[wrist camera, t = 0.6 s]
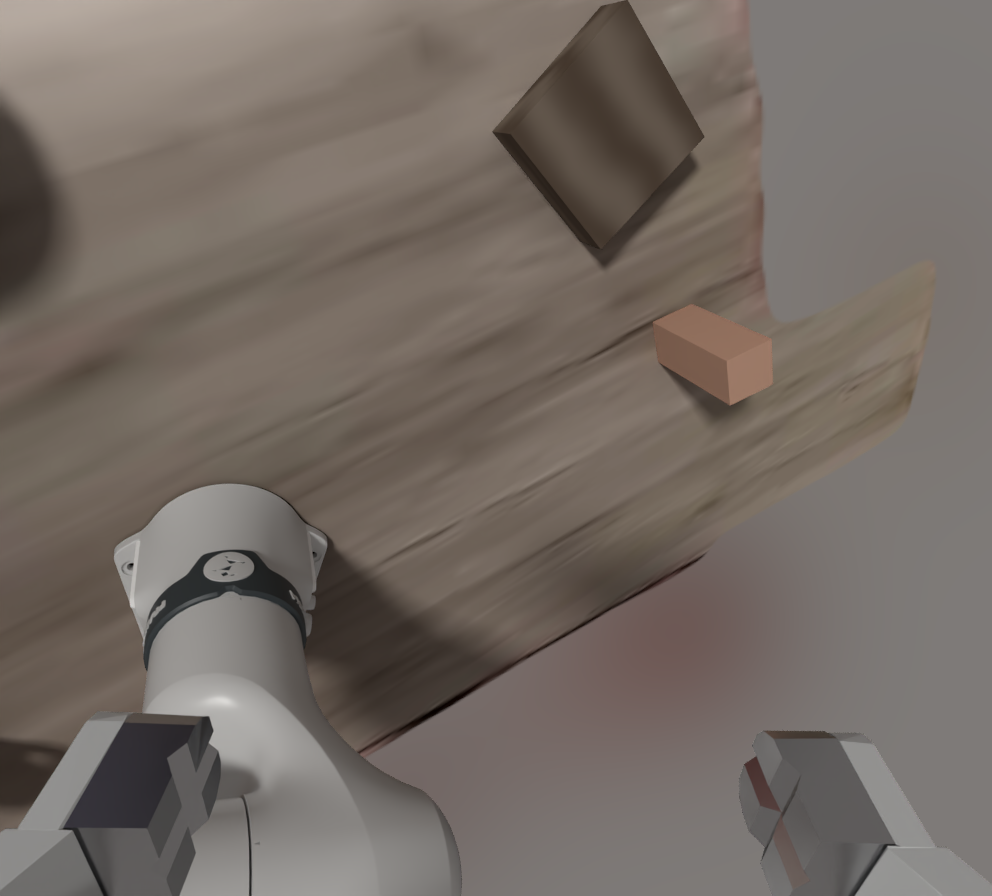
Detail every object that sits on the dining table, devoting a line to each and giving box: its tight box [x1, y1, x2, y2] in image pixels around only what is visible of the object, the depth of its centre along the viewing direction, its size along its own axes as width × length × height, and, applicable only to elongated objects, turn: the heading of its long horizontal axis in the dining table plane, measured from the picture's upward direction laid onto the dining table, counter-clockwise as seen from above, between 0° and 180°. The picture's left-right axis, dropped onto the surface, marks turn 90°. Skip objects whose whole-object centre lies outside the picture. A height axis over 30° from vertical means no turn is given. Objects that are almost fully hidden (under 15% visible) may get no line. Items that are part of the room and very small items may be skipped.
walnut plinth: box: [493, 0, 704, 249], centre depth 53 cm, size 13×13×4 cm
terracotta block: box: [653, 304, 773, 406], centre depth 64 cm, size 5×5×12 cm
